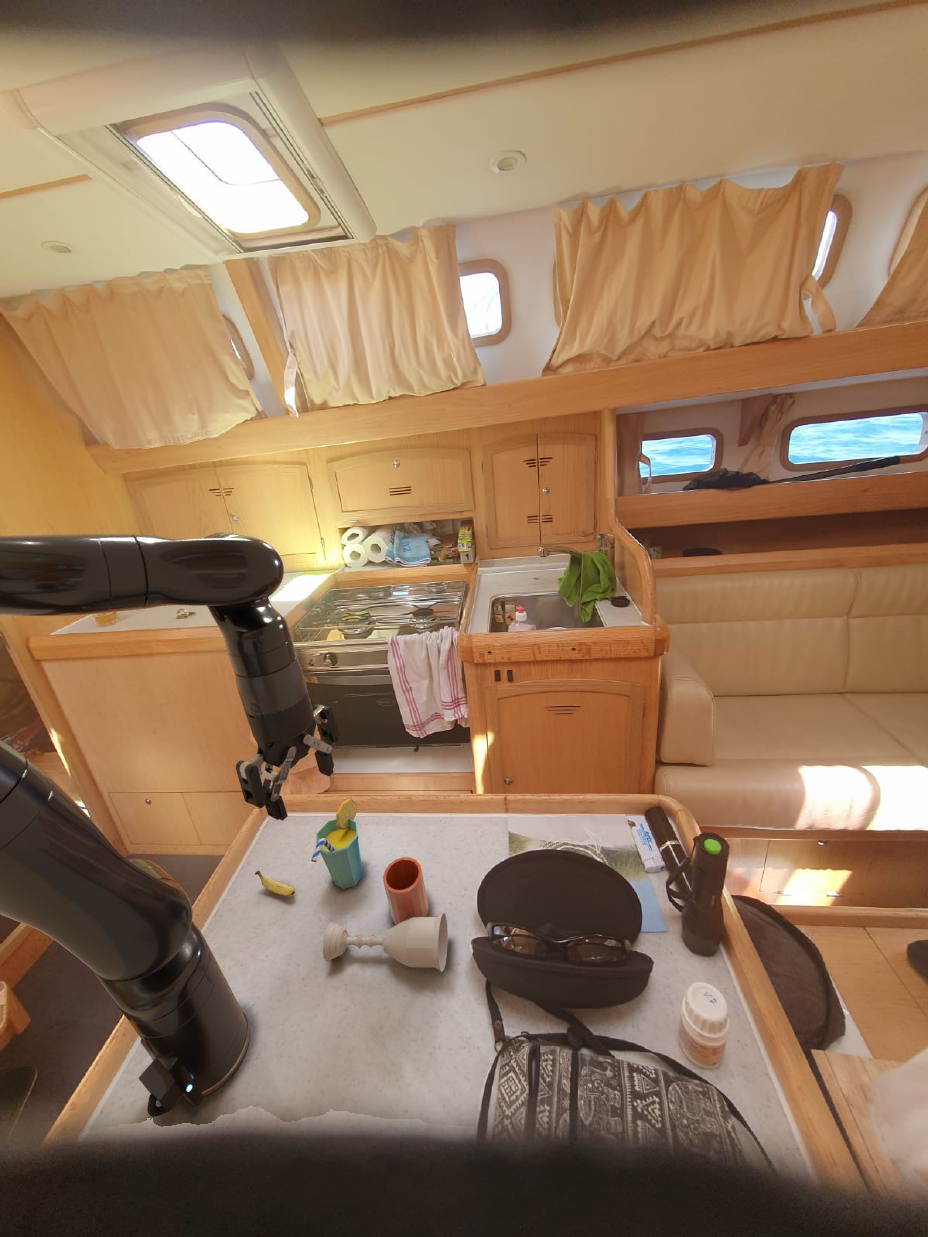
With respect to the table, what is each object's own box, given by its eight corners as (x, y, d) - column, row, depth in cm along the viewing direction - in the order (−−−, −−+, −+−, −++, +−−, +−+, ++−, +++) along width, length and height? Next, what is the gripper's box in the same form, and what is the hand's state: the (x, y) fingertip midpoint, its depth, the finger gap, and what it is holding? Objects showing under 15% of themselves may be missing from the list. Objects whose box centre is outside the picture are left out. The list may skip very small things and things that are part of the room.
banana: (258, 890, 82) (252, 875, 80) (265, 881, 83) (259, 866, 82) (293, 903, 79) (287, 888, 77) (300, 894, 80) (294, 879, 79)
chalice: (329, 978, 69) (444, 980, 66) (315, 959, 65) (436, 960, 63) (343, 925, 75) (449, 925, 72) (331, 905, 71) (441, 904, 69)
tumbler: (415, 936, 72) (407, 899, 68) (384, 919, 75) (375, 883, 71) (435, 901, 77) (428, 865, 73) (405, 887, 80) (397, 852, 76)
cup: (354, 920, 75) (335, 858, 69) (310, 917, 76) (288, 856, 70) (378, 847, 88) (364, 789, 82) (340, 845, 89) (324, 788, 83)
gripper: (297, 662, 63) (322, 754, 69) (203, 720, 51) (242, 824, 58) (337, 672, 59) (359, 768, 66) (246, 736, 48) (283, 844, 54)
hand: (304, 794), depth 62 cm, fingers open, 8 cm apart
